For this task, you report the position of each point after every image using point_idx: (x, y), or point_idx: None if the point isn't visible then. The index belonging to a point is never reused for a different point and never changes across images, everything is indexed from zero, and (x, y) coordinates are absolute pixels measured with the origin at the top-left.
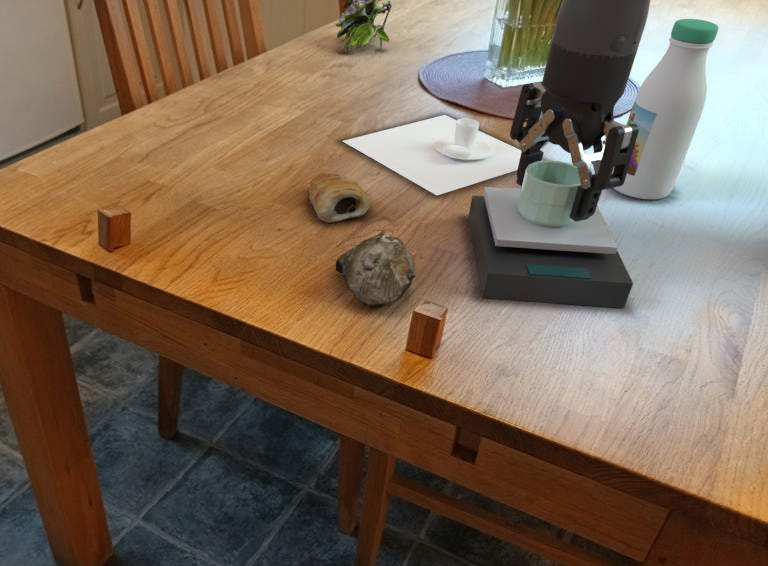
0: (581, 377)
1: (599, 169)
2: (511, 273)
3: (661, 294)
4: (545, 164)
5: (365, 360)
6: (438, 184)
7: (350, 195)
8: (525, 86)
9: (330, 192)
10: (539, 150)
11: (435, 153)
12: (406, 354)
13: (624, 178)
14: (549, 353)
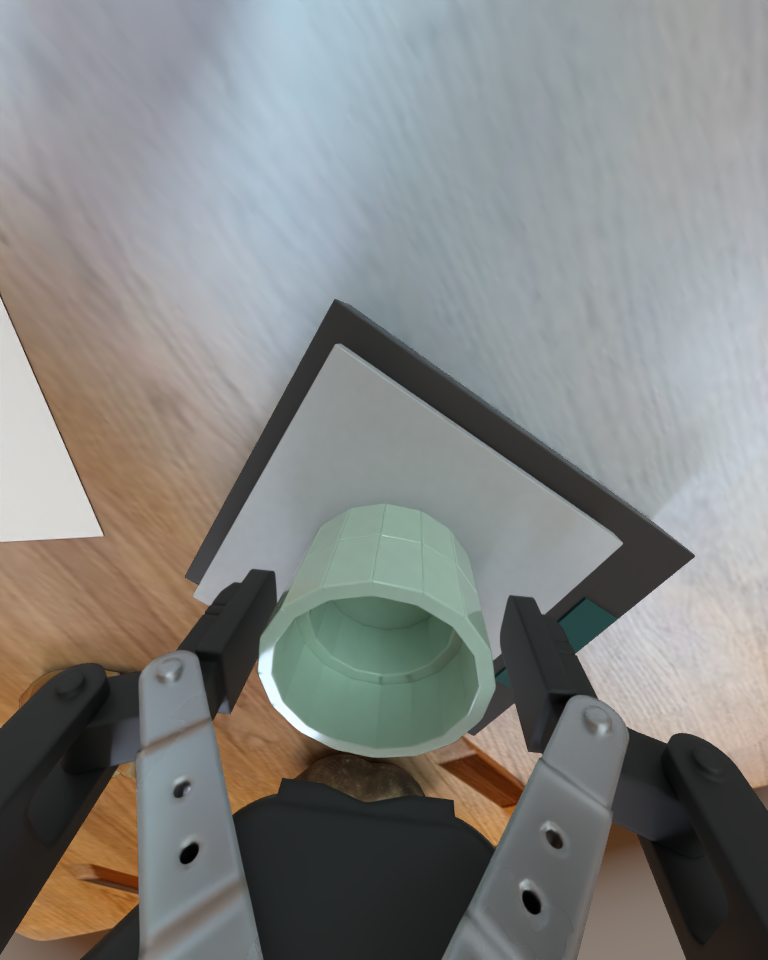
0: (704, 702)
1: (670, 909)
2: (498, 711)
3: (683, 401)
4: (278, 643)
5: (491, 839)
6: (49, 500)
7: None
8: None
9: (116, 771)
10: (213, 673)
11: None
12: (509, 811)
13: (753, 797)
14: (634, 699)
